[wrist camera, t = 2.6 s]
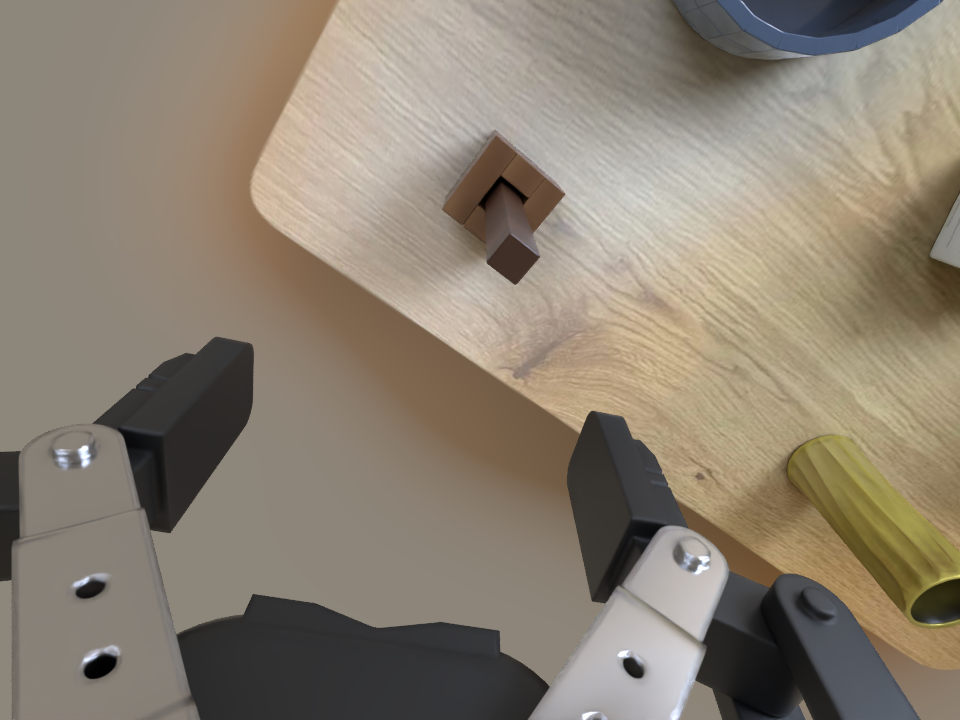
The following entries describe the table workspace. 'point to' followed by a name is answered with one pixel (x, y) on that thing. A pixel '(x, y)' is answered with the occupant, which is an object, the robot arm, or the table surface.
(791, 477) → the vase
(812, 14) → the bowl
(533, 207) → the stick stand
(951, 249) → the small box
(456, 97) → the table surface
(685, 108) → the table surface
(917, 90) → the table surface
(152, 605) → the robot arm
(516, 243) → the stirring stick
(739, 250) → the table surface
